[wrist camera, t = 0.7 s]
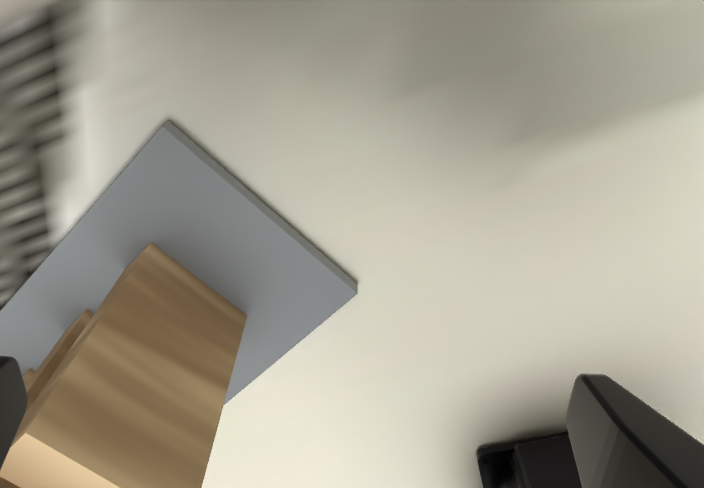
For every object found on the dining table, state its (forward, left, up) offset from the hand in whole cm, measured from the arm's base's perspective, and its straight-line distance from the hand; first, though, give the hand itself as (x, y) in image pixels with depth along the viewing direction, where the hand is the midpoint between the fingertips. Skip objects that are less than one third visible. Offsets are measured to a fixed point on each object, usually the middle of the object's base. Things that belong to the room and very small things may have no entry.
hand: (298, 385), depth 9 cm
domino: (-5, +7, -13) cm, 16 cm away
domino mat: (-9, +15, -14) cm, 23 cm away
